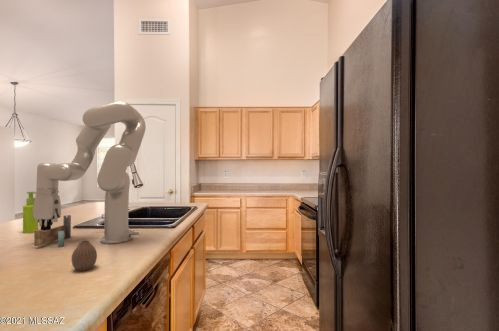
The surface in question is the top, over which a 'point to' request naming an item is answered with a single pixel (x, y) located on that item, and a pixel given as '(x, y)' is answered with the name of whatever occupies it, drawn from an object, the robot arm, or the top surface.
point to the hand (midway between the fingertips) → (45, 235)
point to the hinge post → (67, 225)
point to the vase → (84, 256)
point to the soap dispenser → (29, 215)
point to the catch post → (60, 238)
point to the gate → (47, 235)
